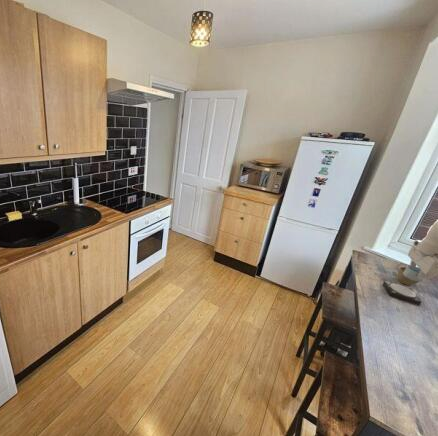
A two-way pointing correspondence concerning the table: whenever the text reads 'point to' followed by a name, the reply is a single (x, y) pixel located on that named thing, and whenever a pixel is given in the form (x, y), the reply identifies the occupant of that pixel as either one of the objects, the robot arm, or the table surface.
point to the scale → (402, 293)
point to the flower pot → (405, 279)
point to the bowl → (412, 273)
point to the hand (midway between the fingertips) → (414, 273)
